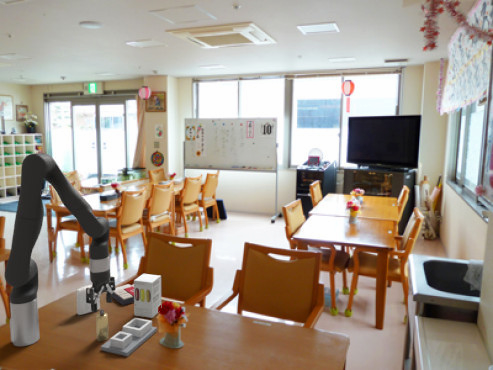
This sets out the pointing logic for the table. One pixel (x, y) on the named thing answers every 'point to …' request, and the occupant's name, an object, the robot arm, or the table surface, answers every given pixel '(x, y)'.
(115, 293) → the printed cardboard box
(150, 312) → the supplement box
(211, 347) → the table surface
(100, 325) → the yellow bottle
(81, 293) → the photo printer
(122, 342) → the grey holder tray
